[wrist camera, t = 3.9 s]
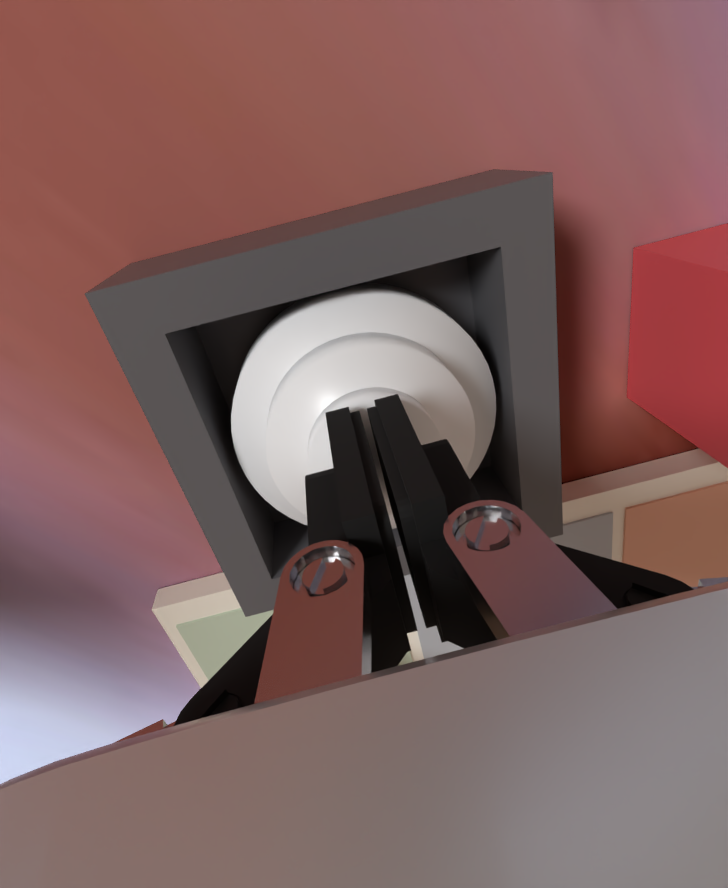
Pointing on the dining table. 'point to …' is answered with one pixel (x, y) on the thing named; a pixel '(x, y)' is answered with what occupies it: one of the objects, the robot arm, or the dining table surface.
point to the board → (584, 528)
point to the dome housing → (325, 269)
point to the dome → (355, 385)
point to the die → (682, 336)
